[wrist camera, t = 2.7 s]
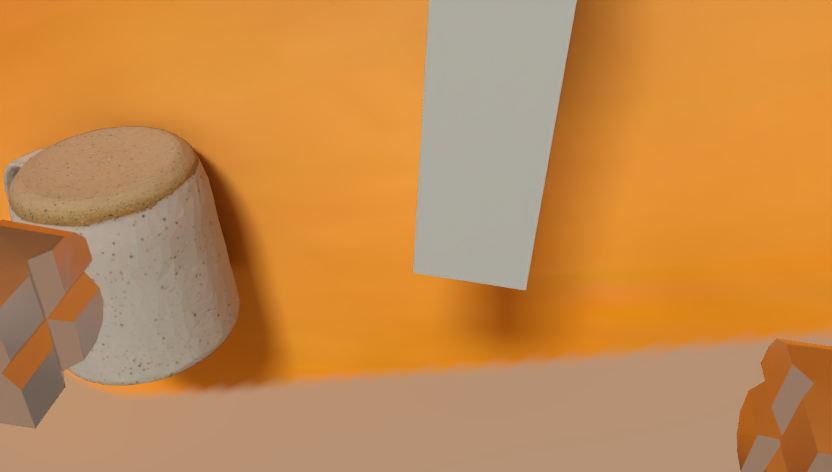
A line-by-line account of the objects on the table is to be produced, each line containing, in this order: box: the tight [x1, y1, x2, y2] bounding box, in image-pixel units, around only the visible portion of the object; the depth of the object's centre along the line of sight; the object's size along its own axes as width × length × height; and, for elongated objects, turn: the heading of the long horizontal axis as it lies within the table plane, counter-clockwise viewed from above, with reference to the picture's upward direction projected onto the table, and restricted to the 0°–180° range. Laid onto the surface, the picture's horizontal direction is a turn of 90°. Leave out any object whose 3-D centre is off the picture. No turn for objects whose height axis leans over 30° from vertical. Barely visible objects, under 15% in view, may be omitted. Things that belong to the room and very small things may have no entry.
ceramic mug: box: [4, 126, 240, 385], centre depth 31 cm, size 11×8×8 cm
